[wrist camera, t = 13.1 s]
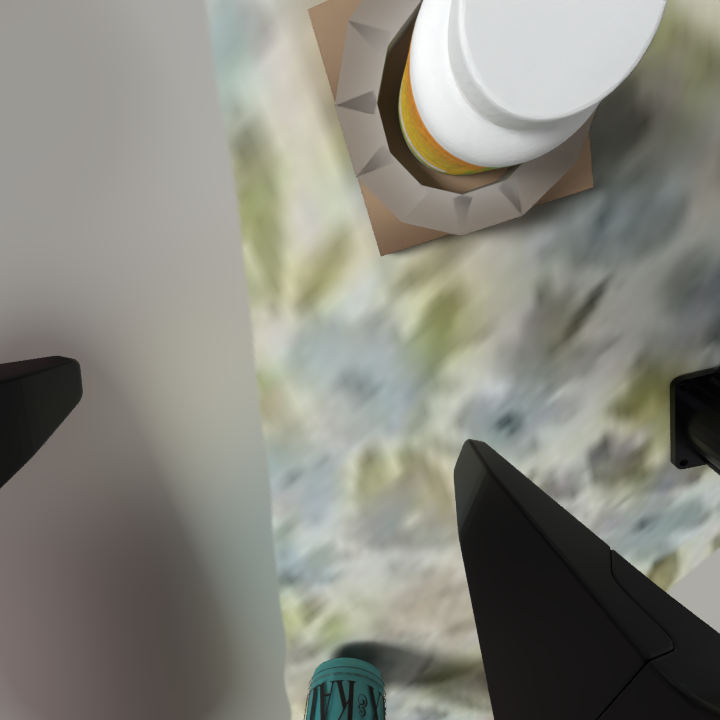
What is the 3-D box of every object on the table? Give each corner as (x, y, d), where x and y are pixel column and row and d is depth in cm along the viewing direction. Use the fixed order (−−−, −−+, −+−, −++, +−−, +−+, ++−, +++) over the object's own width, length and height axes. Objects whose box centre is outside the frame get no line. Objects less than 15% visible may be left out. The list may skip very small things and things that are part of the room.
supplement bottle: (450, 203, 18) (524, 214, 9) (371, 103, 16) (364, -4, 7) (552, 108, 16) (770, 4, 7) (474, -12, 15) (627, -329, 6)
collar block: (580, 187, 18) (612, 186, 16) (380, 253, 20) (381, 261, 17) (555, -86, 15) (592, -143, 12) (312, 21, 16) (300, -10, 14)
